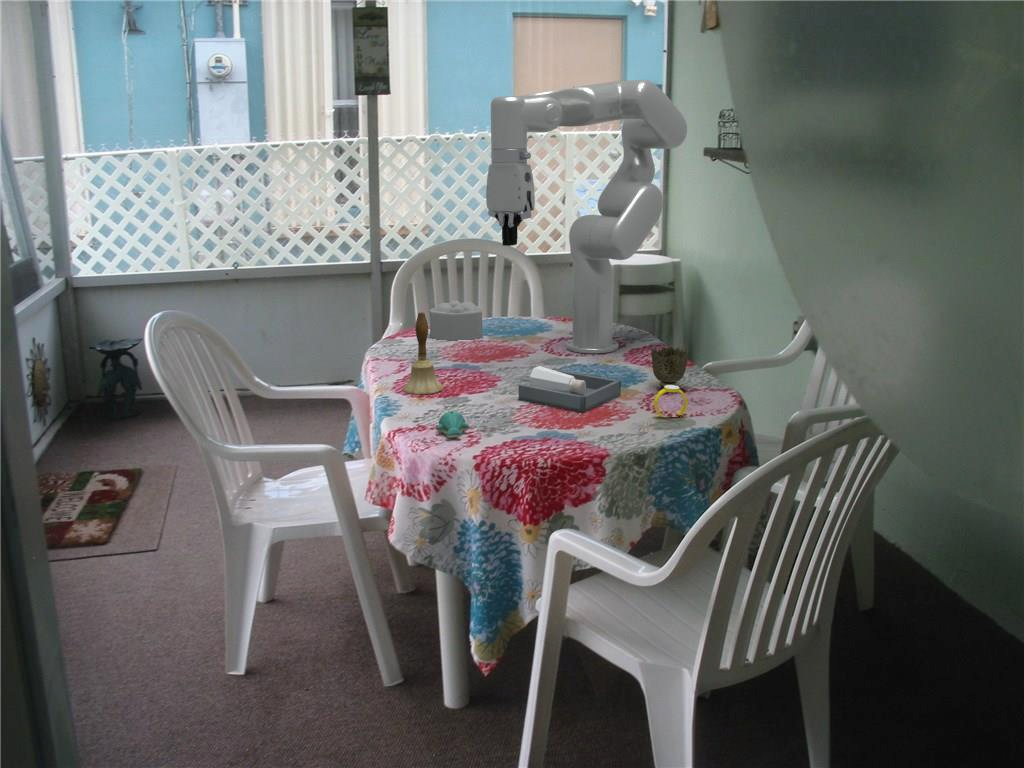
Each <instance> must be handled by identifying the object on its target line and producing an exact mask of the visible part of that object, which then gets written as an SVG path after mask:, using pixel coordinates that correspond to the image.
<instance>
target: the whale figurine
mask: <svg viewBox="0 0 1024 768" xmlns="http://www.w3.org/2000/svg"><path fill="white" fill-rule="evenodd" d="M469 429H470V425H469V424H468V423H466V419H465V418H464V416H463V415H462V414H461V412H460V413H459V412H458V411H454V410H453V411H447V412H445V413H443V414H442V415H441V417H440V418H439V420H438V425H437V426H436V428H435V430H436V431H437V433H442V432H443V433H444V435H445V434H446V435H445V436H446V437H447V438H450V439H451V438H460V437H462V436H463V432H465V431H468V430H469ZM443 433H442V434H443Z"/></svg>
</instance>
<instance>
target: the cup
mask: <svg viewBox="0 0 1024 768" xmlns="http://www.w3.org/2000/svg"><path fill="white" fill-rule="evenodd" d="M650 354H651V364H652V371H653V372H652V373H653V375H654V377H655V378H656V379H657V380H658V381H659V387H660V389H662V388H663V389H664V386H666V385H675V386H678V385H679V384H678V382H679V381H681V380H682V379H683V378H684V376H685V373H686V369H687V363H688V356H689V351H688V350H687V349H685V348H684V347H683V348H681V349H680V347H676V348H674V347H673V346H671V345H670V346H668V347H665V346H664V345H663V346H662V347H661V348H660V350H658V349H657V348H656V347H654V348H653V349H651V351H650Z"/></svg>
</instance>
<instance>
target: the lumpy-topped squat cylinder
mask: <svg viewBox="0 0 1024 768" xmlns="http://www.w3.org/2000/svg"><path fill="white" fill-rule="evenodd" d="M429 335H430V336H429V337H430V339H431V338H432V339H431V340H433V339H436V340H435V341H438V340H447V341H446V342H449V341H455V342H459V341H458V340H473V341H476V340H475V339H480V338H482V339H483V310H482V309H480V306H479V305H476V304H475V303H473V302H471V301H465V302H461V301H459V300H452V301H450V302H441V303H439V304H438V305H437V307H432V308H430V310H429ZM480 340H481V339H480Z"/></svg>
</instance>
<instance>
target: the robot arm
mask: <svg viewBox="0 0 1024 768" xmlns="http://www.w3.org/2000/svg"><path fill="white" fill-rule="evenodd" d="M620 120H624V121H623V123H622V126H621V141H622V147H623V158H622V161H621V163H620V165H619V167H618V168H617V171H616V172H615V173H614V175H613V176H612V177H611V178H610V180H609V181H608V183H607V185H605V187H604V189H602V190H603V191H602V192H601V193H600V195H599V197H598V200H597V210H598V212H599V214H600V215H599V214H585V215H582V216H579V217H577V219H575V220H574V221H573V222H572V224H571V226H570V228H569V233H568V240H569V247H570V253H571V259H572V339H569V340H567V341H566V342H565V348H566V349H567V350H569V351H572V352H575V353H581V354H606V353H610V352H615V351H616V350H618V349H619V342H617V341H616V340H614V339H613V336H614V335H617V334H619V333H620V328H619V327H618V326H616V325H615V326H613V316H614V315H613V311H614V309H613V308H614V306H613V305H614V270H613V267H612V264H611V261H610V260H616V261H625V260H628V259H630V258H632V256H634V255H635V254H636V253H637V251H638V250H639V249H640V247H641V246H642V245H643V243H644V242H645V240H646V238H647V237H648V236H649V234H650V233H651V231H652V229H654V227H655V226H656V224H657V222H658V220H659V219H660V217H661V214H662V211H663V205H664V197H663V194H662V191H661V190H660V188H659V187H658V186H657V185H655V184H653V183H652V182H653V181H654V179H655V178H654V177H655V176H656V175H655V174H656V167H655V163H654V158H653V155H652V150H653V149H656V150H657V149H658V150H660V149H661V150H673V149H675V148H679V146H682V144H683V143H684V142H685V140H686V137H687V134H688V125H687V122H686V119H685V117H684V115H683V113H682V112H681V111H680V109H678V106H676V105H675V103H673V101H672V100H671V99H670V97H668V95H667V94H666V93H665V92H664V91H663V90H662V89H661V88H660V87H659V86H658V85H656V84H655V83H654V82H653V81H650V80H648V79H633V80H631V79H629V80H617V81H616V80H615V81H608V82H601V83H596V84H588V85H581V86H580V85H579V86H574V87H568V88H564V89H559V90H558V89H556V90H551V91H545V92H543V91H542V92H537V93H536V92H535V93H530V94H524V95H523V94H522V95H517V96H511V95H510V96H495V97H494V98H492V99H491V102H490V145H491V147H490V148H491V149H490V151H491V152H490V153H491V154H490V155H491V156H490V157H491V158H490V159H491V161H490V164H489V165H488V171H487V177H486V187H485V188H486V192H485V193H486V194H485V195H486V196H485V199H486V201H485V203H486V208H487V209H488V212H487V215H488V216H489V217H492V218H494V219H496V221H497V222H498V224H499V226H500V227H501V240H502V246H503V247H504V246H505V247H506V246H507V247H511V246H512V247H513V246H517V244H518V238H519V237H518V227H519V226H520V225H521V223H522V222H523V220H526V219H531V218H532V217H533V215H532V212H533V211H534V210H535V207H536V205H535V203H536V196H535V183H534V175H533V169H532V166H531V164H528V160H530V159H531V158H532V154H531V152H528V137H527V136H528V133H550V132H552V131H554V130H556V129H557V128H558V127H574V128H576V127H584V126H592V125H596V124H602V123H607V122H614V121H620ZM651 149H652V150H651Z"/></svg>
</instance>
